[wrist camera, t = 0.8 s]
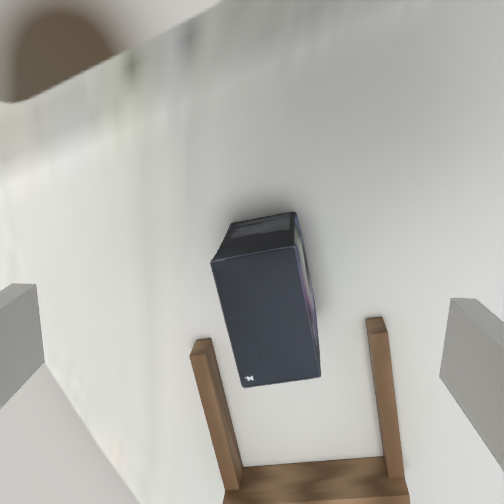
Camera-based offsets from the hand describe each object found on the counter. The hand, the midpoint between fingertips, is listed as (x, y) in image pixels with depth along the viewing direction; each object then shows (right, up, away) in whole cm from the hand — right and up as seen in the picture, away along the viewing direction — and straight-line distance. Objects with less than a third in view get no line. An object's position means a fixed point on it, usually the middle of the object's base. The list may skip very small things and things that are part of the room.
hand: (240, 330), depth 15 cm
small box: (+2, +1, +28) cm, 28 cm away
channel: (+5, -12, +32) cm, 35 cm away
